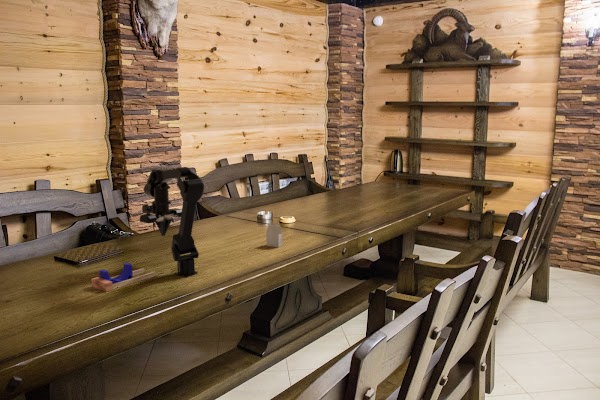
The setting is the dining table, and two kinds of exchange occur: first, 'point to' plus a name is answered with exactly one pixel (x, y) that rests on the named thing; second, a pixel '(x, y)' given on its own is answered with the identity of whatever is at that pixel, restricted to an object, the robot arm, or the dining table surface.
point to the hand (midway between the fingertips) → (163, 235)
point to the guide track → (108, 285)
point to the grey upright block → (274, 236)
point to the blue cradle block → (123, 276)
